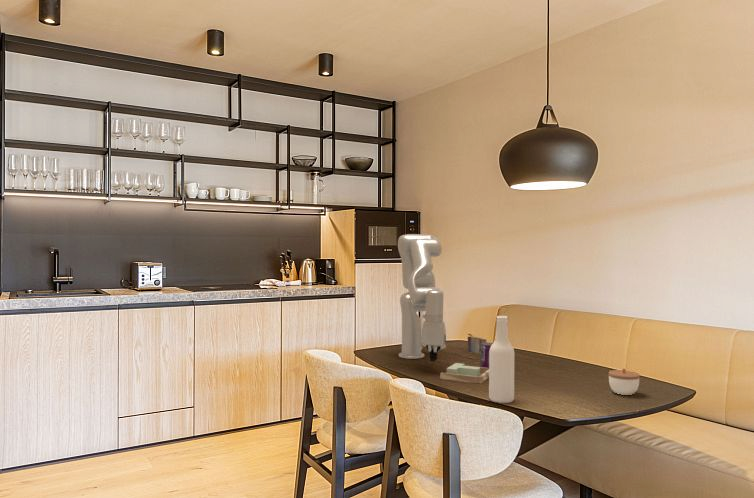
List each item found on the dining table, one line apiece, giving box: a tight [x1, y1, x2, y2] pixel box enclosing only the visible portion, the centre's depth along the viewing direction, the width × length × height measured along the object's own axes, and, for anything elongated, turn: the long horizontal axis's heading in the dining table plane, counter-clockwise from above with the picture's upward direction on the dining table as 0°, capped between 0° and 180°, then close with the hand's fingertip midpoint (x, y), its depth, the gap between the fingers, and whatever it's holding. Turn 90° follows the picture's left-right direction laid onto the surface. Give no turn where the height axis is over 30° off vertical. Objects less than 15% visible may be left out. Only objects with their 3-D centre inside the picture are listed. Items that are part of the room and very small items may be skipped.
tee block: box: [446, 362, 481, 377], centre depth 241 cm, size 12×12×4 cm
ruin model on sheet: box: [467, 333, 488, 355], centre depth 293 cm, size 11×3×10 cm, turn 32°
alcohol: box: [488, 315, 515, 404], centre depth 205 cm, size 9×9×30 cm
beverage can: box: [479, 342, 494, 368], centre depth 250 cm, size 7×7×12 cm
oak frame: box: [439, 365, 489, 384], centre depth 240 cm, size 18×17×2 cm
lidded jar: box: [608, 368, 641, 396], centre depth 214 cm, size 11×11×9 cm
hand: (433, 360), depth 248 cm, fingers closed
